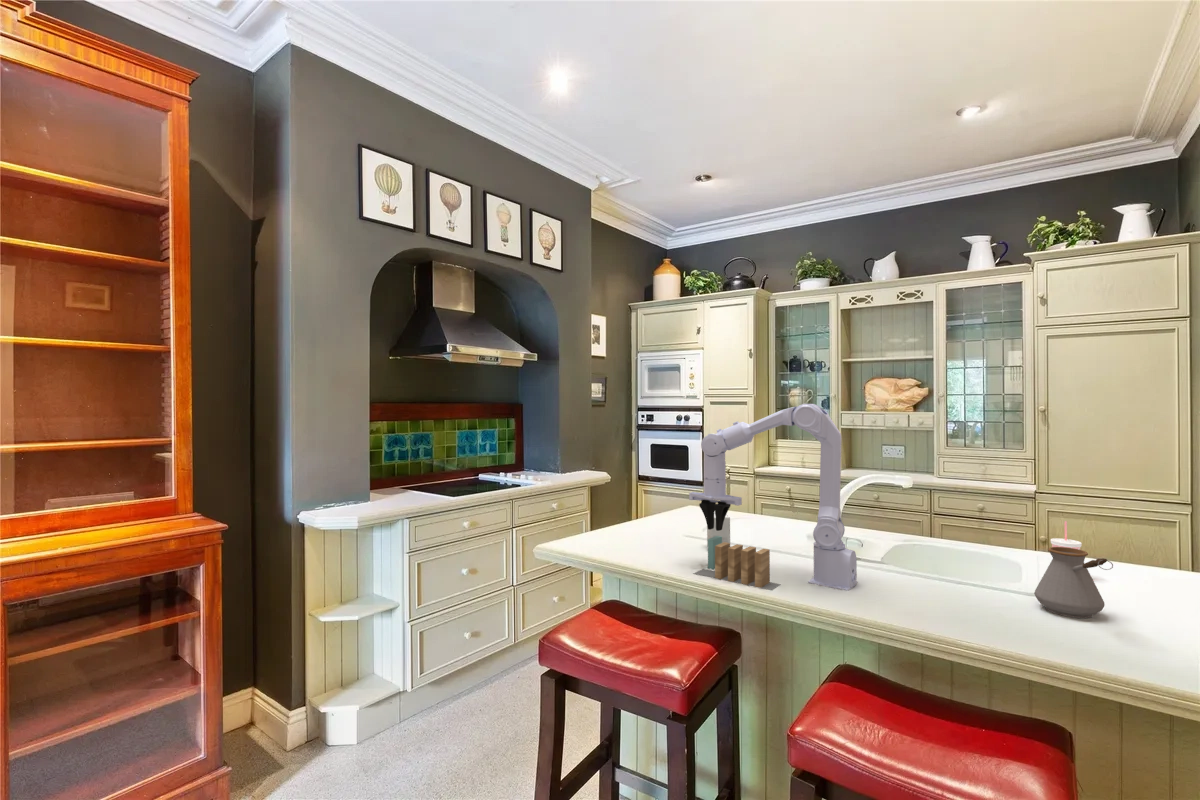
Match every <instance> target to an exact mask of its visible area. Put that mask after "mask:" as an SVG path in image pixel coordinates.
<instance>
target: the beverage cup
mask: <svg viewBox="0 0 1200 800" xmlns="http://www.w3.org/2000/svg"><path fill="white" fill-rule="evenodd" d="M1050 544H1051V547H1067V548H1074V549H1079V550H1081V547H1082V545H1083V543H1082V542H1081V541H1079V540H1074V539H1070V538H1069V539H1068V521H1067V520H1064V538H1061V537H1060V538H1059V537H1058V538H1056V537H1053V538H1050Z"/></svg>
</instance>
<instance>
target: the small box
mask: <svg viewBox="0 0 1200 800" xmlns="http://www.w3.org/2000/svg"><path fill="white" fill-rule="evenodd" d="M706 533H707V534H706V535H707V537H706V544H707V548H708V539H710V538H712V537H715V536H721V537H722V543H723V542H727V543H730V544H731V517H730V516H729V515H727V514H726V516H725V519H724V522H723V527H722V530H720V531H716V516H715V512H714V528H713V529H710V530H709V529H708V527H707V526H706Z"/></svg>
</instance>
